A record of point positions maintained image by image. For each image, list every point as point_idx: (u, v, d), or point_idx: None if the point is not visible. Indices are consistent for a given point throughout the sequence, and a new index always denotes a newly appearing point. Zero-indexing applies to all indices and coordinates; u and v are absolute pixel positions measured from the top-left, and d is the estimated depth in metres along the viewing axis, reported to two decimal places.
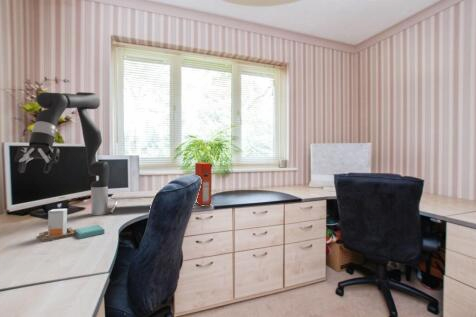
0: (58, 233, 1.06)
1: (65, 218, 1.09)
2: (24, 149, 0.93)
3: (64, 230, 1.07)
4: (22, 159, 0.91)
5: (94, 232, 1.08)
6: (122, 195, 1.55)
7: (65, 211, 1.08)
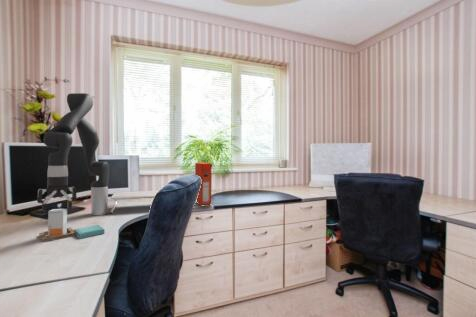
0: (58, 233, 1.06)
1: (65, 218, 1.09)
2: (43, 191, 1.03)
3: (64, 230, 1.07)
4: (46, 201, 1.03)
5: (94, 232, 1.08)
6: (122, 195, 1.55)
7: (65, 211, 1.08)
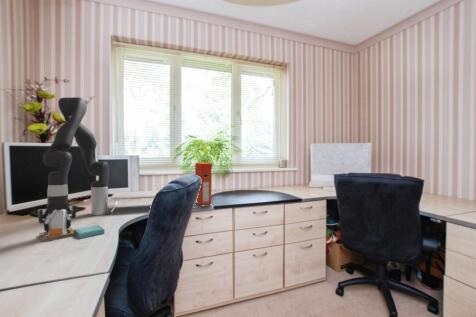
0: (58, 233, 1.06)
1: (65, 218, 1.09)
2: (43, 211, 1.03)
3: (64, 230, 1.07)
4: (47, 221, 1.04)
5: (94, 232, 1.08)
6: (122, 195, 1.55)
7: (65, 211, 1.08)
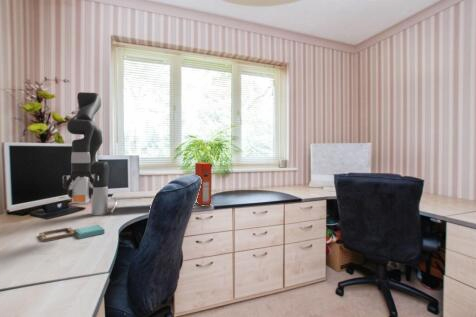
0: (81, 199, 1.08)
1: (88, 186, 1.11)
2: (67, 177, 1.06)
3: (86, 197, 1.09)
4: (71, 187, 1.06)
5: (94, 232, 1.08)
6: (122, 195, 1.54)
7: (88, 179, 1.10)
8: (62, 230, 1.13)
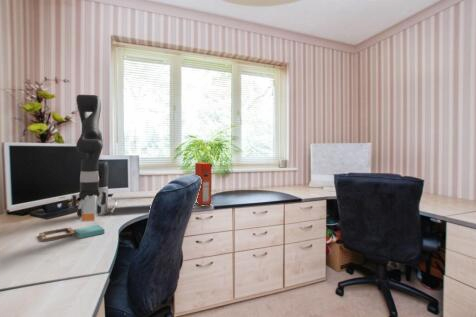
0: (90, 218, 1.09)
1: (96, 204, 1.12)
2: (77, 196, 1.07)
3: (95, 216, 1.11)
4: (80, 206, 1.07)
5: (94, 232, 1.08)
6: (122, 195, 1.54)
7: (96, 197, 1.12)
8: (62, 230, 1.13)
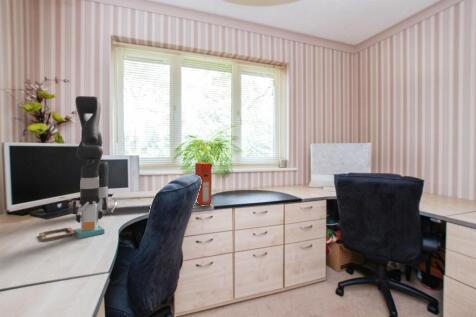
0: (91, 226, 1.09)
1: (97, 212, 1.12)
2: (77, 202, 1.07)
3: (96, 224, 1.11)
4: (79, 212, 1.07)
5: (94, 232, 1.08)
6: (122, 195, 1.54)
7: None
8: (62, 230, 1.13)
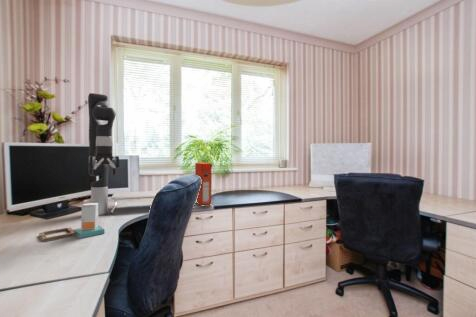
0: (91, 226, 1.09)
1: (97, 212, 1.12)
2: (93, 158, 1.18)
3: (96, 224, 1.11)
4: (95, 167, 1.18)
5: (94, 232, 1.08)
6: (122, 195, 1.54)
7: (97, 205, 1.12)
8: (62, 230, 1.13)
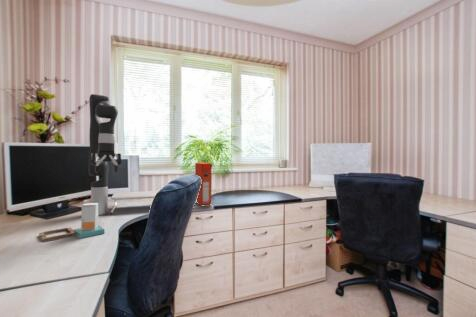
0: (91, 226, 1.09)
1: (97, 212, 1.12)
2: (95, 155, 1.20)
3: (96, 224, 1.11)
4: (98, 163, 1.20)
5: (94, 232, 1.08)
6: (122, 195, 1.54)
7: (97, 205, 1.12)
8: (62, 230, 1.13)
